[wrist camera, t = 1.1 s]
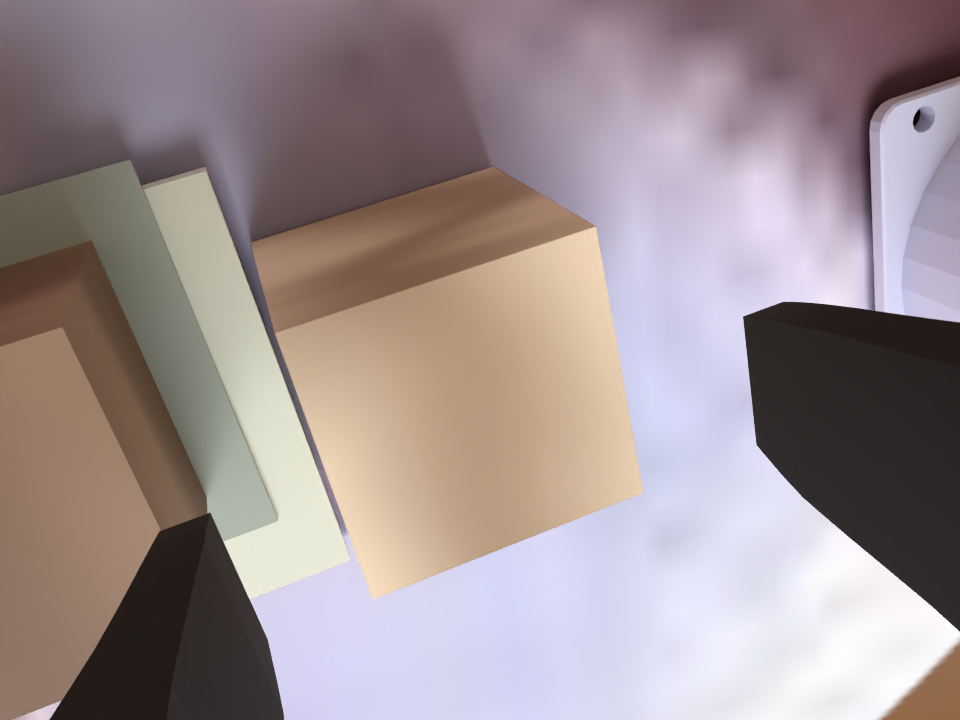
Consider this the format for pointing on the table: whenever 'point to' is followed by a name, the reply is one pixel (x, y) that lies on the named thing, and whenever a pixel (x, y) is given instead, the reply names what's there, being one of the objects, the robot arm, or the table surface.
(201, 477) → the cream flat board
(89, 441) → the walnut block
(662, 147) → the table surface
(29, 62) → the table surface
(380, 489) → the maple cube
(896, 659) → the table surface
